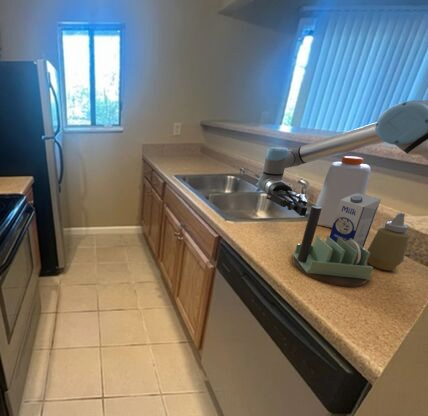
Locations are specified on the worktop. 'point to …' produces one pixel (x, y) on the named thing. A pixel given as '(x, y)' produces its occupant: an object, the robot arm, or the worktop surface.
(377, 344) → the worktop surface
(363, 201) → the milk carton
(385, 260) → the squeeze bottle
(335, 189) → the plastic bottle
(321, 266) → the dish rack
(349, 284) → the turntable
